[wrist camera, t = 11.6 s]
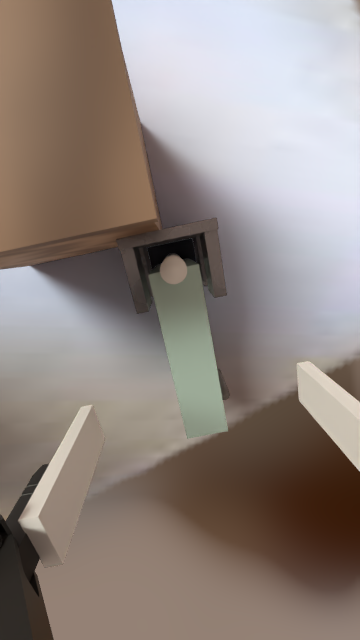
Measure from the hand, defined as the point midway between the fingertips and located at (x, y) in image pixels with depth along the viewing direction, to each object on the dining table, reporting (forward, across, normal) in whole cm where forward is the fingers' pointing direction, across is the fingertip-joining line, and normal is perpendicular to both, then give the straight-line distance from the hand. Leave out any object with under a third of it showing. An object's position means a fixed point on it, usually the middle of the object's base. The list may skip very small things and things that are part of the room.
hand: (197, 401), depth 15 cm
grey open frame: (+18, 0, +8) cm, 19 cm away
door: (+18, 0, 0) cm, 18 cm away
